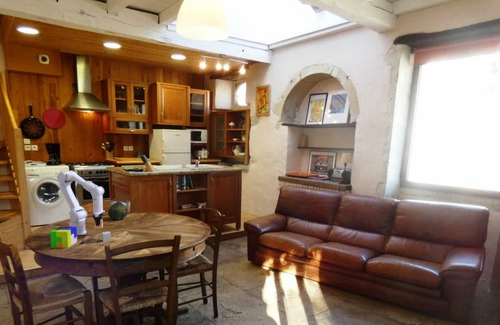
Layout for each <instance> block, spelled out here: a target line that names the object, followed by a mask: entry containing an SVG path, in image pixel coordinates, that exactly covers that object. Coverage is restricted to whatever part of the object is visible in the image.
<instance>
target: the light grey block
mask: <svg viewBox="0 0 500 325" xmlns="http://www.w3.org/2000/svg"><path fill="white" fill-rule="evenodd" d="M101 241H102V242H103V243H107V242H111V241H112V234H111V231H110V230H109V231H103V232H101Z"/></svg>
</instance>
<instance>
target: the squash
mask: <svg viewBox="0 0 500 325" xmlns="http://www.w3.org/2000/svg"><path fill="white" fill-rule="evenodd" d="M128 213H129V210H128V208H127V206H126V205H125V204H124V203H123V202H122V201H121V200H117V201H116V202H114V203H112V204H111V205H110V206H109V208H108V211H107V214H108V217H109V219H111V220H116V221H119V220H123V219H124V218H126V217H127V216H128Z"/></svg>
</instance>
